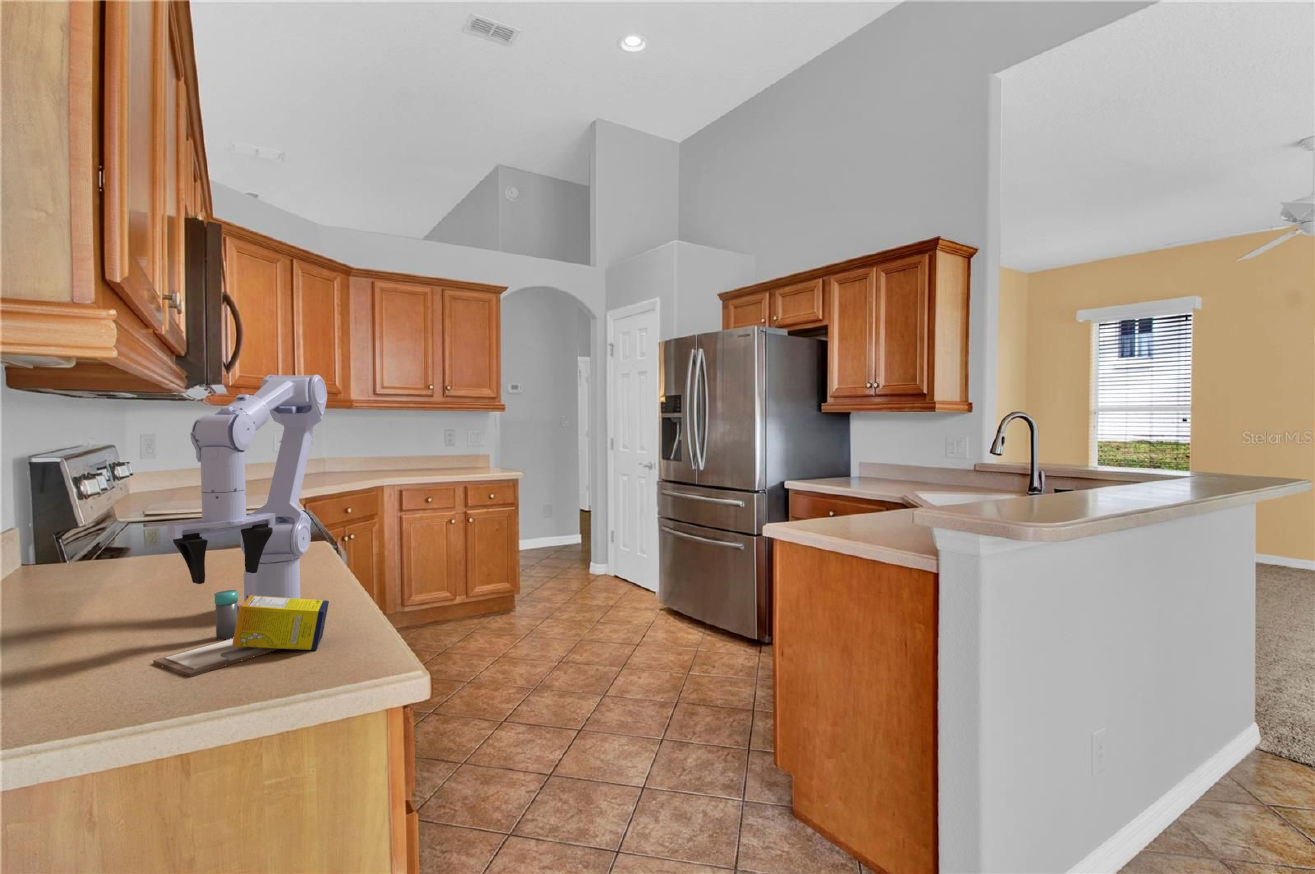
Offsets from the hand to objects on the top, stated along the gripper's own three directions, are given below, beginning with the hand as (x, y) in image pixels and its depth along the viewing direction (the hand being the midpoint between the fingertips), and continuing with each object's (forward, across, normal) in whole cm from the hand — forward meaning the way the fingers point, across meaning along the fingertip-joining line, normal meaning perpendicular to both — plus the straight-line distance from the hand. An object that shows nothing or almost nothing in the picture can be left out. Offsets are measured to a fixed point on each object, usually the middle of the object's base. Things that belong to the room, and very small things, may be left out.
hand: (225, 577), depth 99 cm
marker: (+9, 0, 0) cm, 9 cm away
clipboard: (+9, -3, -8) cm, 13 cm away
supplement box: (+6, +5, -17) cm, 19 cm away
